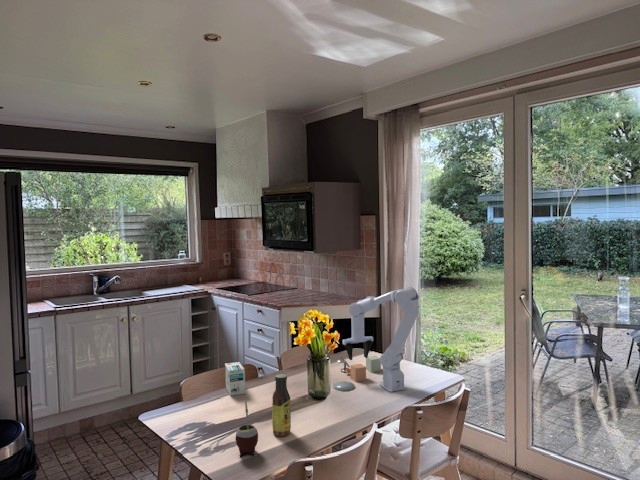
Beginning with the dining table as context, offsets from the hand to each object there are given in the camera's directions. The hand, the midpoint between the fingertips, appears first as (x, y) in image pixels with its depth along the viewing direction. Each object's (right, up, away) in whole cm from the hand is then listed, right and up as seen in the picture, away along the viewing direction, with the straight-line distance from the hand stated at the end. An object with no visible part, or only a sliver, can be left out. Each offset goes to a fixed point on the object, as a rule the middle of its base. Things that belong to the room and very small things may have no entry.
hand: (358, 358), depth 210 cm
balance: (-5, -9, +11) cm, 15 cm away
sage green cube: (+8, -9, +12) cm, 17 cm away
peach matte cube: (0, -9, 0) cm, 9 cm away
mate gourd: (-40, -14, -63) cm, 76 cm away
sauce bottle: (-30, -13, -50) cm, 60 cm away
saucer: (-7, -10, -9) cm, 15 cm away
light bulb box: (-53, -11, -11) cm, 56 cm away
